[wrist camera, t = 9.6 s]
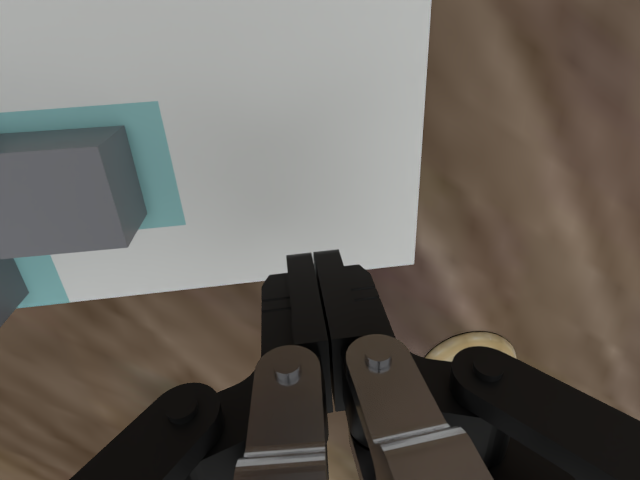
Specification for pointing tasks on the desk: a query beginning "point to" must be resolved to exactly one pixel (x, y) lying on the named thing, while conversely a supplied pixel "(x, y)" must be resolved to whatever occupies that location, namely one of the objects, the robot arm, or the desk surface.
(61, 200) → the t block
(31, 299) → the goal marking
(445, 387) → the robot arm
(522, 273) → the desk surface
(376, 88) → the runner mat
